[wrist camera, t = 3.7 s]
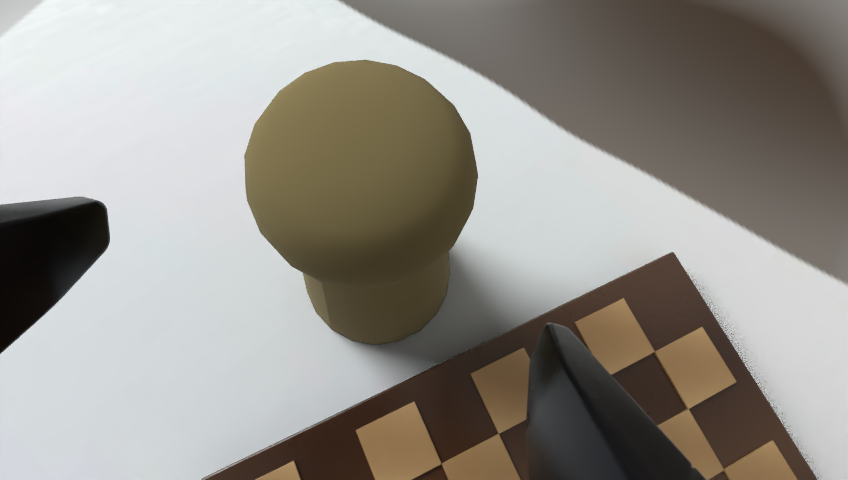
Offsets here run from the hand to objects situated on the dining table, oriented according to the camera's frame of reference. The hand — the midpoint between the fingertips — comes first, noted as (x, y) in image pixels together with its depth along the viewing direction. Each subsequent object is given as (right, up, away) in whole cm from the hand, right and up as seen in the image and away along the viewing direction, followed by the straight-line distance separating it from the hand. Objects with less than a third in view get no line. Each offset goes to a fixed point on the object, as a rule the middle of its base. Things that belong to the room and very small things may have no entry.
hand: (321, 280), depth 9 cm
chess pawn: (0, -1, +11) cm, 11 cm away
